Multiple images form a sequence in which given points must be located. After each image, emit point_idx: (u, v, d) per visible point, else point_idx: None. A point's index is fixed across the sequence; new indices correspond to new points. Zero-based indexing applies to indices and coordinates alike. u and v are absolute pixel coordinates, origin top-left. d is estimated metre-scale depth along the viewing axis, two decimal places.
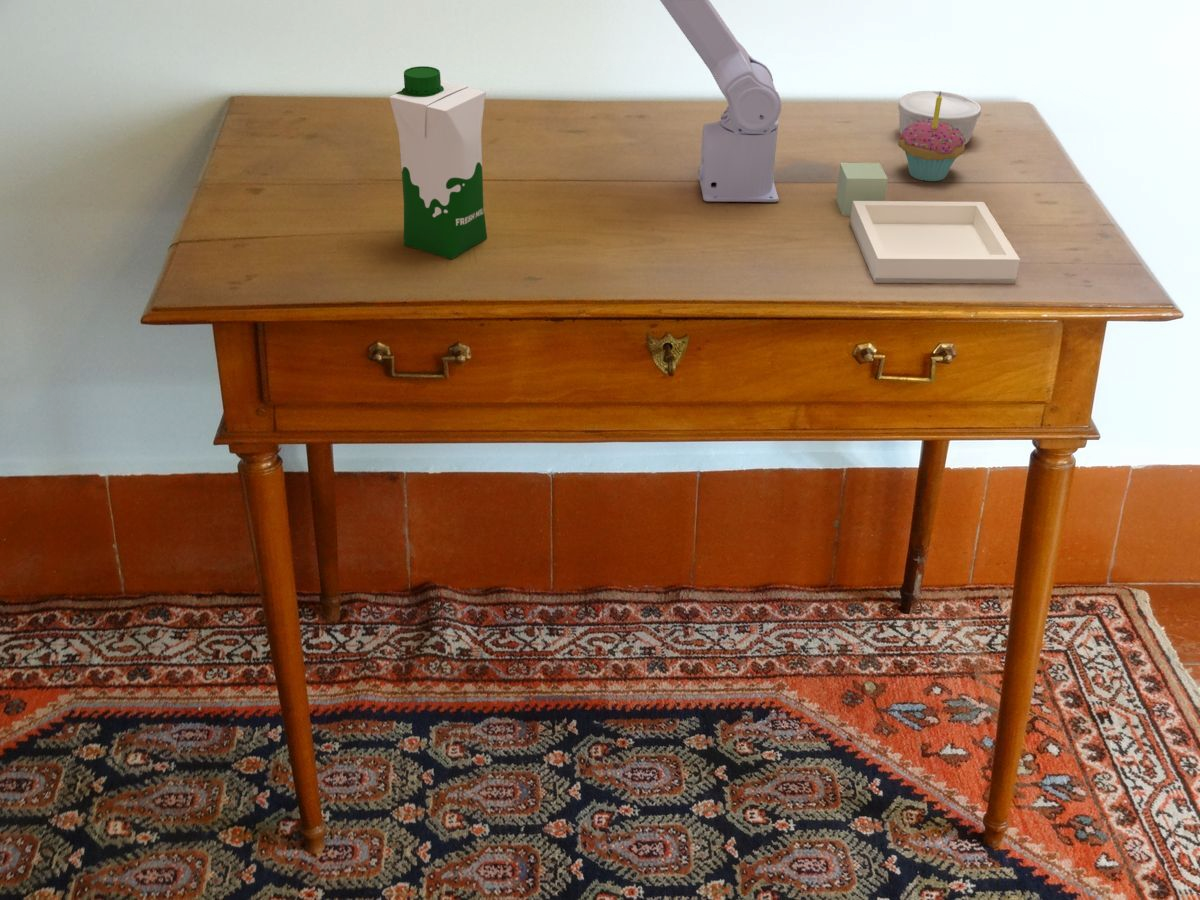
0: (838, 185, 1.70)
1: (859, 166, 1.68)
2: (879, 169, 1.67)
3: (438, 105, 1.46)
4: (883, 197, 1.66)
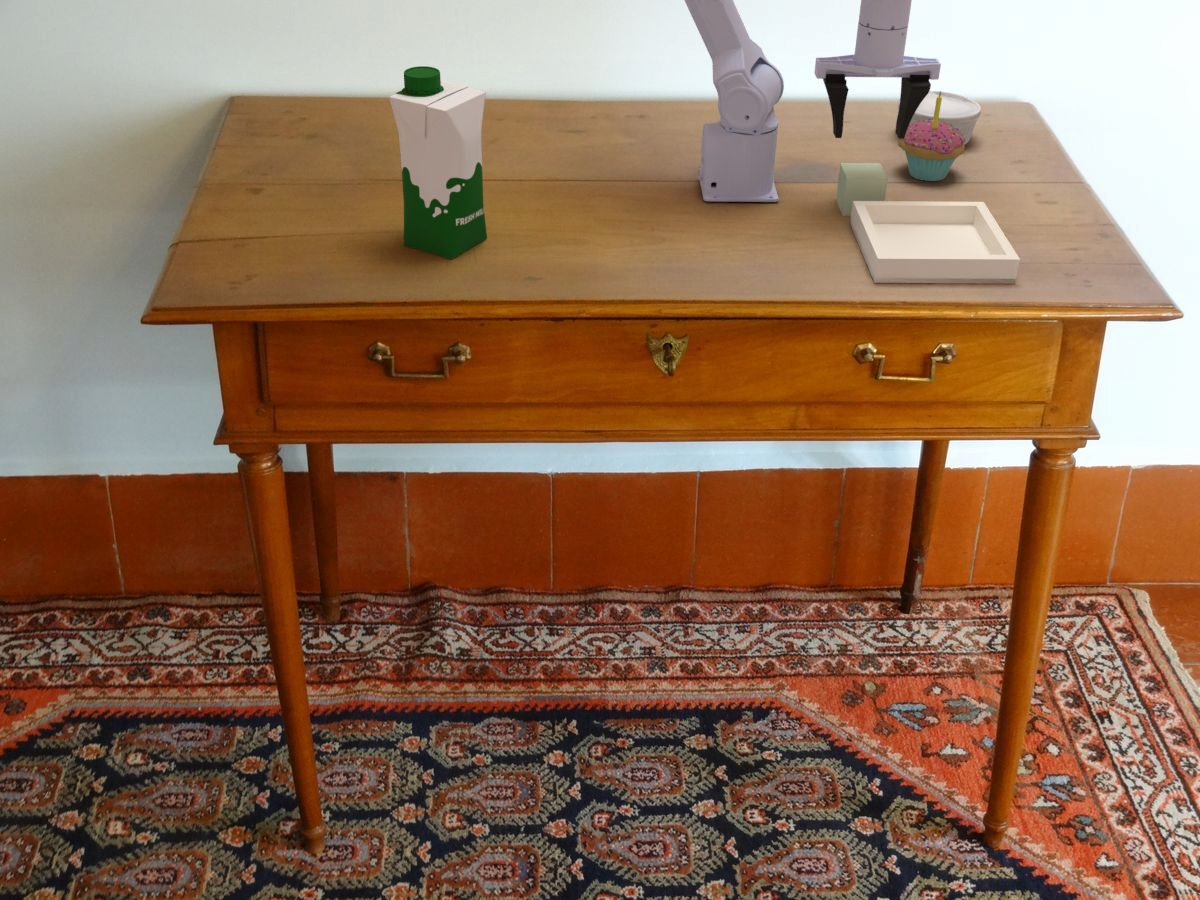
0: (838, 185, 1.70)
1: (859, 166, 1.68)
2: (879, 169, 1.67)
3: (438, 105, 1.46)
4: (883, 197, 1.66)
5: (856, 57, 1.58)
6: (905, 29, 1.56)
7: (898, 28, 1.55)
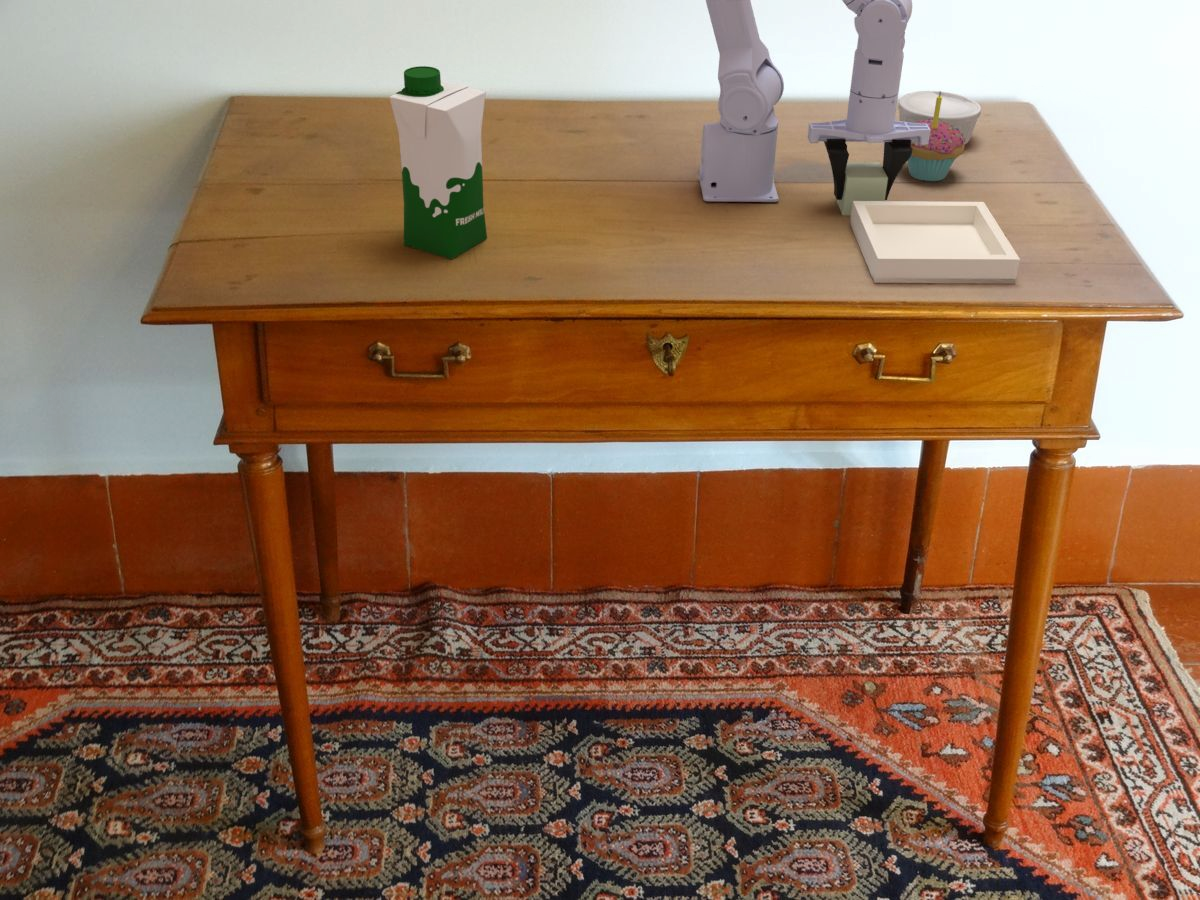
0: None
1: (859, 165, 1.68)
2: (879, 168, 1.67)
3: (438, 105, 1.46)
4: (883, 196, 1.66)
5: (848, 123, 1.63)
6: (895, 97, 1.60)
7: (889, 96, 1.59)
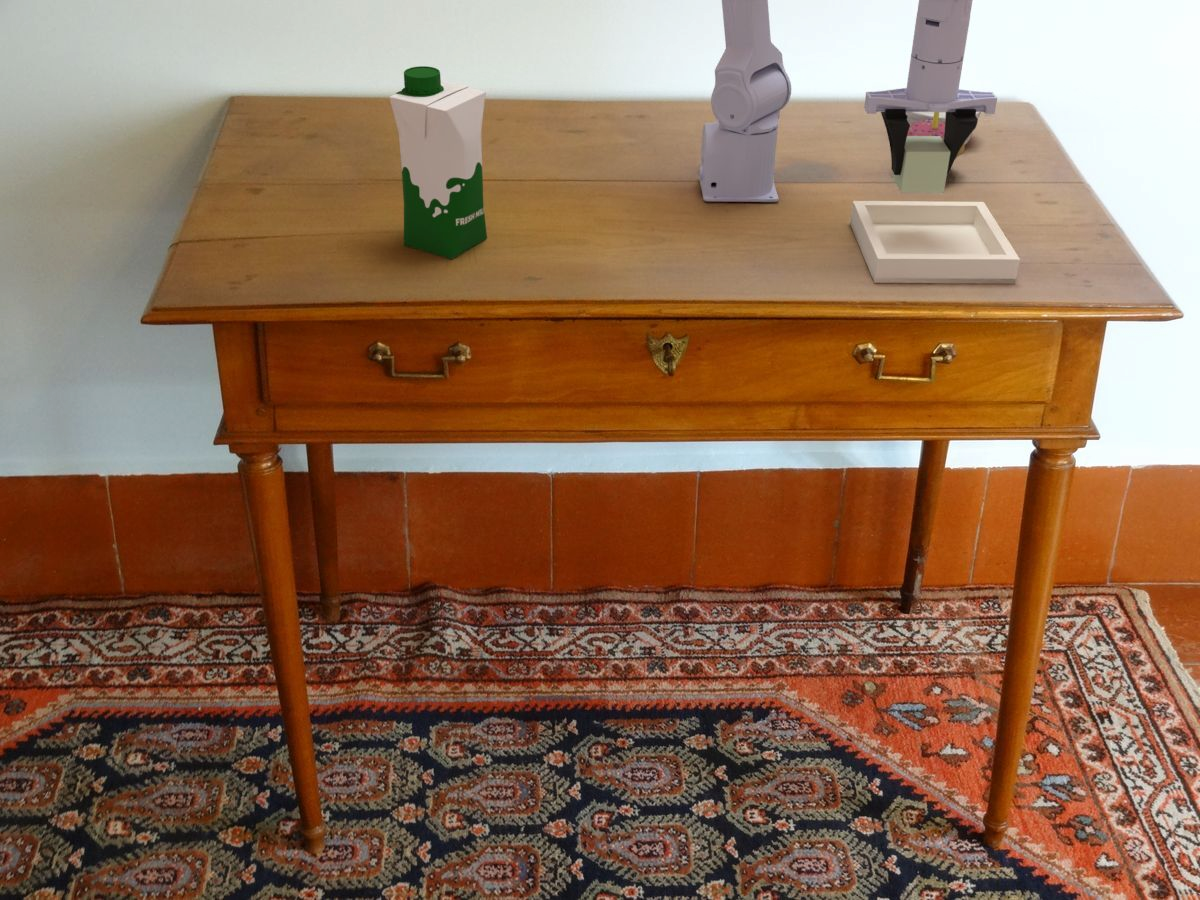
0: None
1: (918, 139, 1.57)
2: (940, 142, 1.56)
3: (438, 105, 1.46)
4: (945, 172, 1.55)
5: (908, 91, 1.51)
6: (961, 62, 1.49)
7: (954, 61, 1.48)
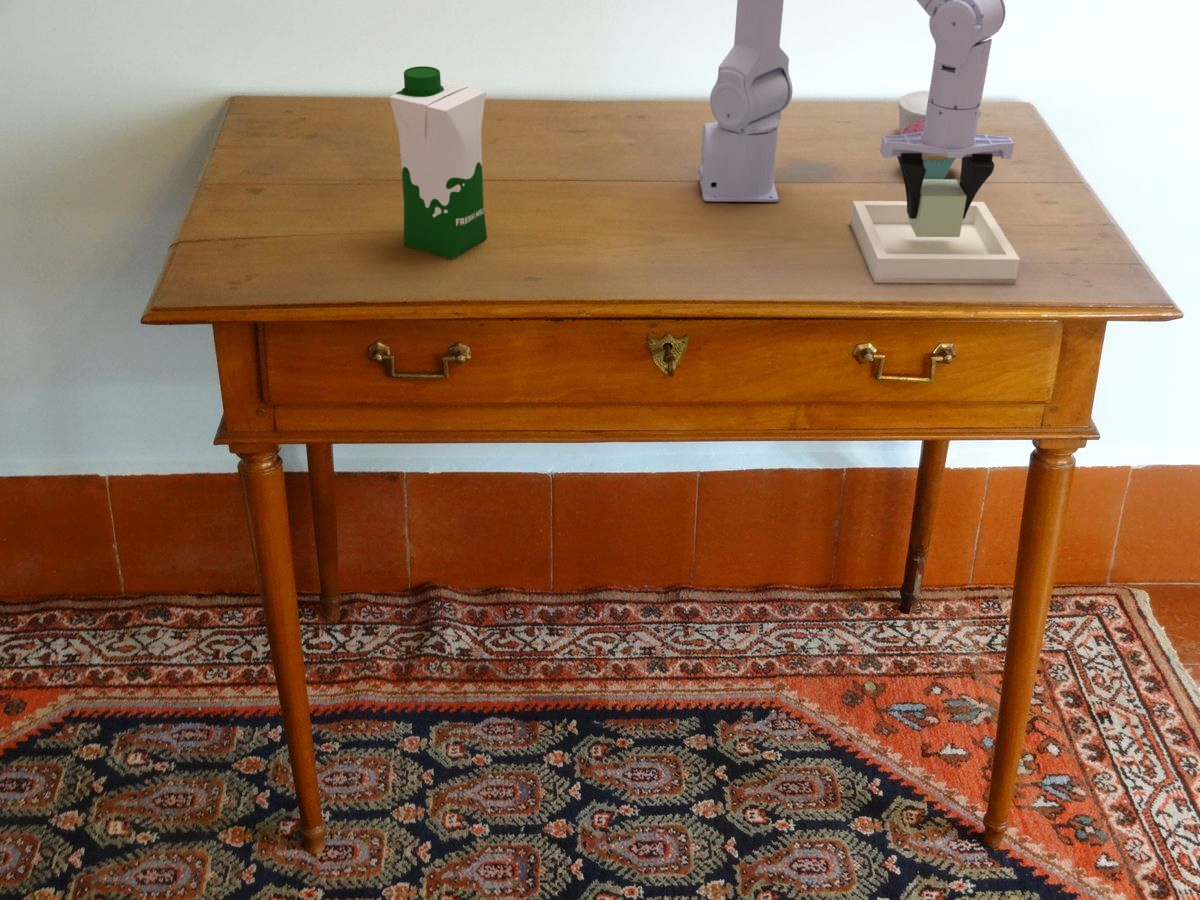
0: None
1: (934, 182, 1.56)
2: (956, 186, 1.55)
3: (438, 105, 1.46)
4: (961, 216, 1.54)
5: (925, 136, 1.50)
6: (978, 108, 1.48)
7: (971, 107, 1.47)
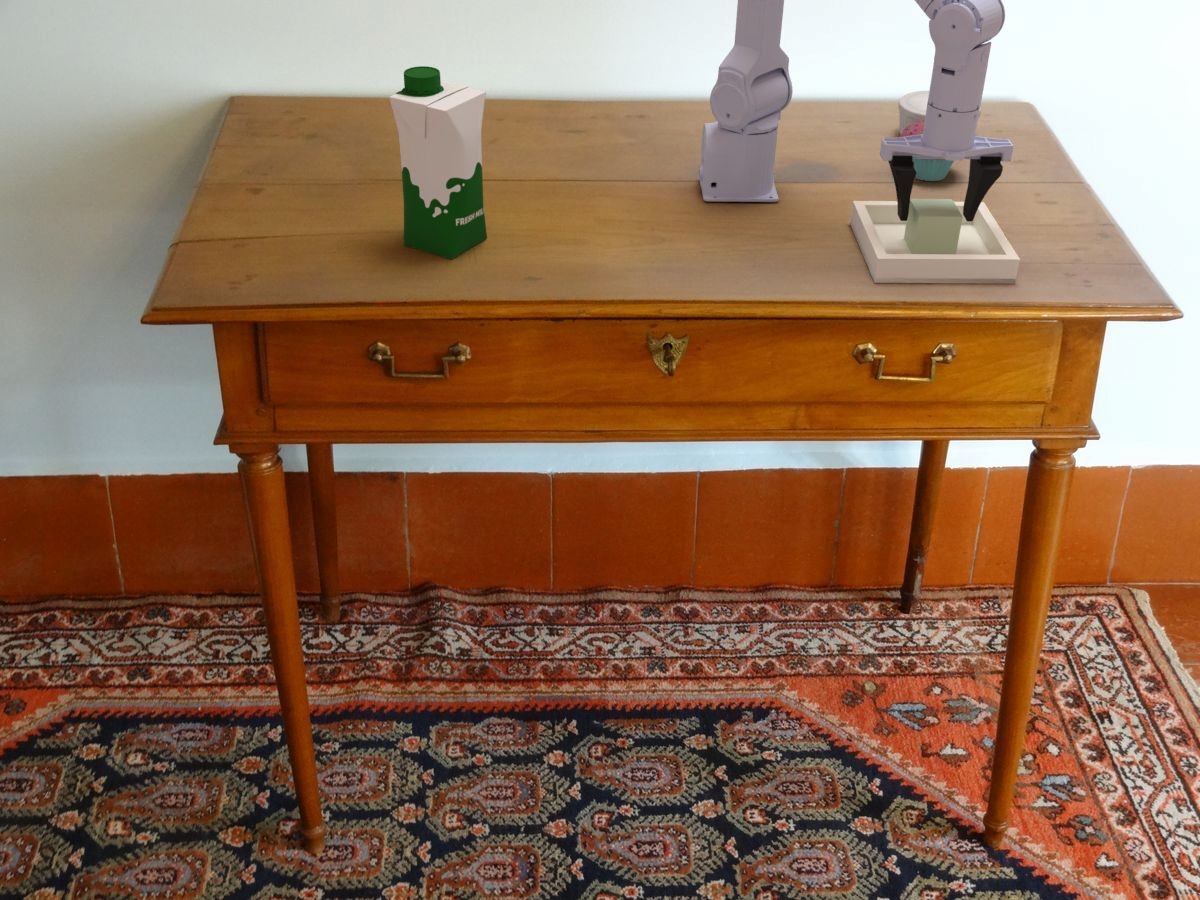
0: (907, 222, 1.59)
1: (930, 202, 1.57)
2: (952, 206, 1.56)
3: (438, 105, 1.46)
4: (957, 236, 1.55)
5: (925, 139, 1.51)
6: (977, 111, 1.48)
7: (971, 110, 1.47)
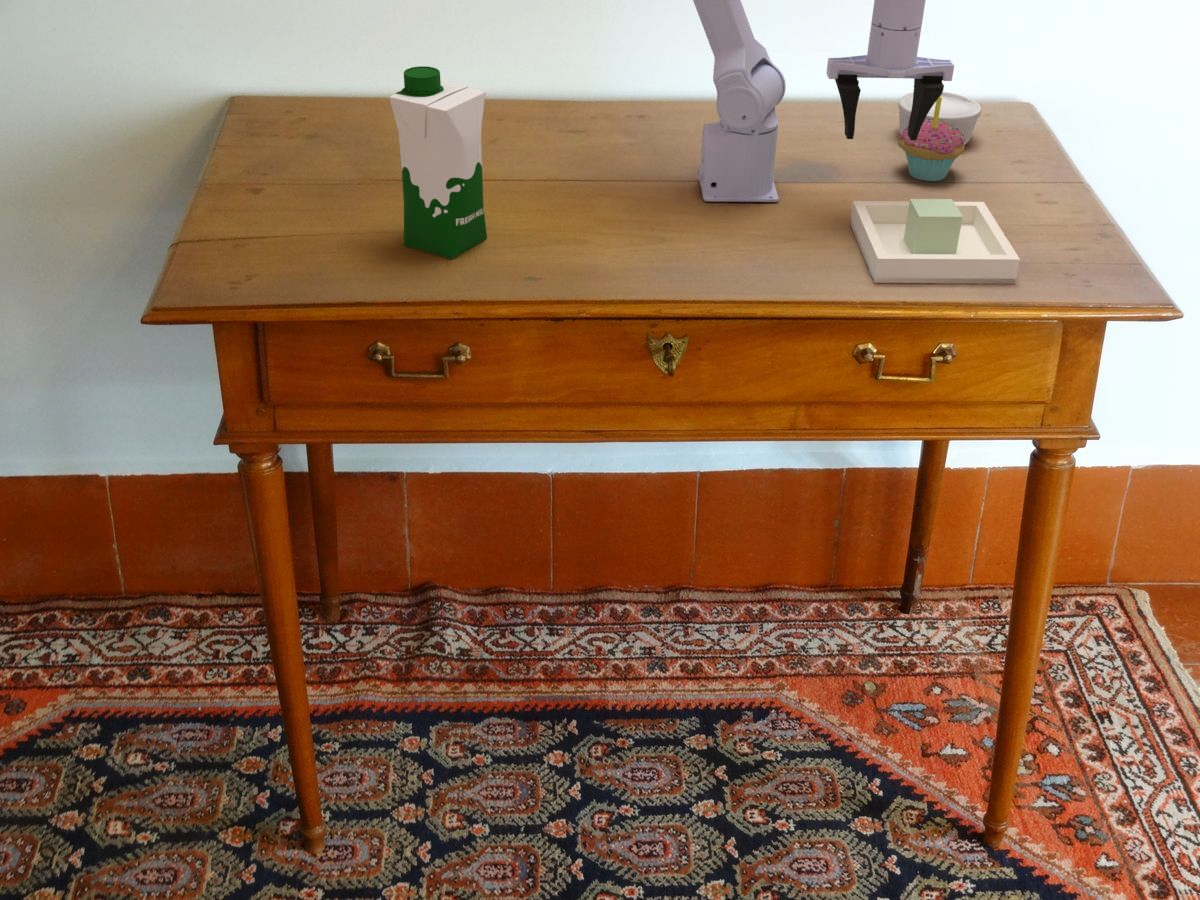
0: (907, 222, 1.59)
1: (930, 202, 1.57)
2: (952, 206, 1.56)
3: (438, 105, 1.46)
4: (957, 236, 1.55)
5: (869, 58, 1.57)
6: (918, 30, 1.54)
7: (911, 29, 1.53)
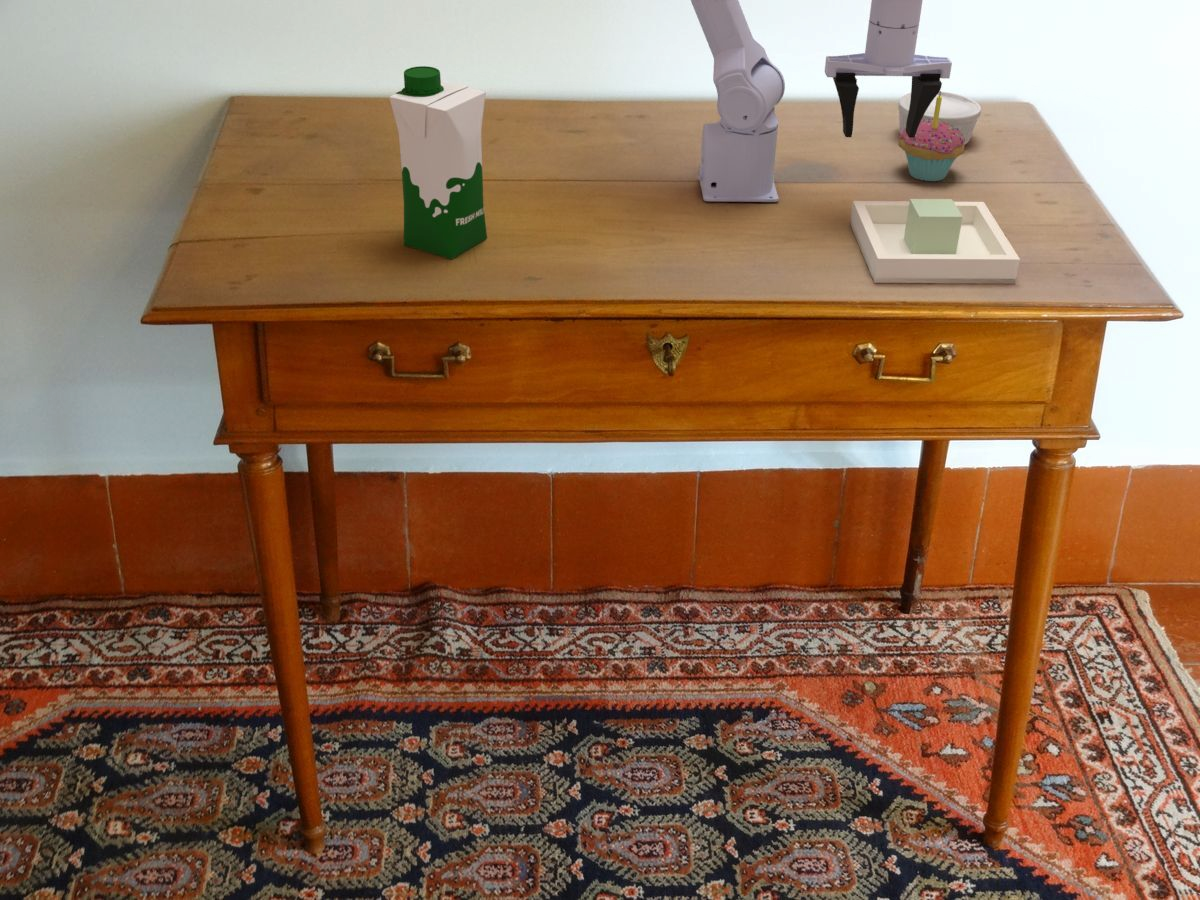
0: (907, 222, 1.59)
1: (930, 202, 1.57)
2: (952, 206, 1.56)
3: (438, 105, 1.47)
4: (957, 236, 1.55)
5: (866, 56, 1.57)
6: (916, 27, 1.55)
7: (909, 26, 1.54)
